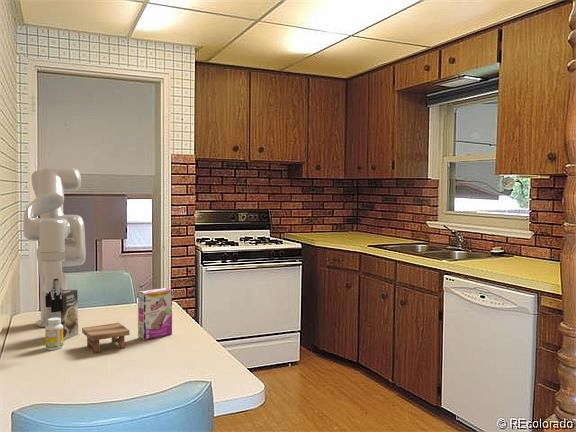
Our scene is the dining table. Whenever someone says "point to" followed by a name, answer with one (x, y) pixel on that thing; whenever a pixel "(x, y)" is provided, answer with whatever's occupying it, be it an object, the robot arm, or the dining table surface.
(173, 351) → the dining table surface
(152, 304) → the candy bar box
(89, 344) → the stool
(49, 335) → the supplement bottle
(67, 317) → the coffee box
